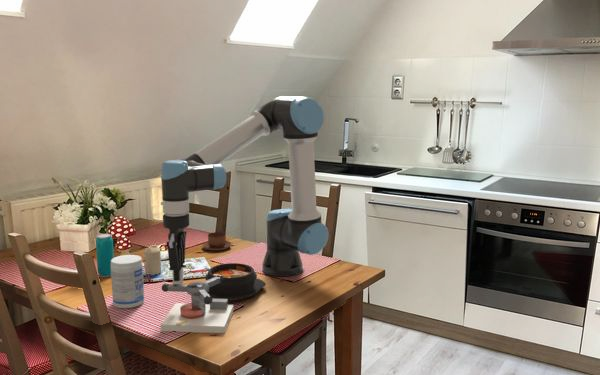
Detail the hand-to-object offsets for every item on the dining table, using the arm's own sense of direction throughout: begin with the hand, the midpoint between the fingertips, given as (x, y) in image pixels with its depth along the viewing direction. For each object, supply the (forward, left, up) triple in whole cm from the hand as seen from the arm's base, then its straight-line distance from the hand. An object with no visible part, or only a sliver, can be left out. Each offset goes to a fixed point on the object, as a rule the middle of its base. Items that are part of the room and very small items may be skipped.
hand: (178, 289), depth 162 cm
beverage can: (+35, -30, -8) cm, 47 cm away
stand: (-7, +5, -8) cm, 11 cm away
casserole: (-13, -16, -8) cm, 22 cm away
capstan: (-5, +5, -5) cm, 9 cm away
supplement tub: (+18, -6, -8) cm, 21 cm away
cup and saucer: (+2, -66, -8) cm, 67 cm away
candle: (+19, -34, -8) cm, 40 cm away
